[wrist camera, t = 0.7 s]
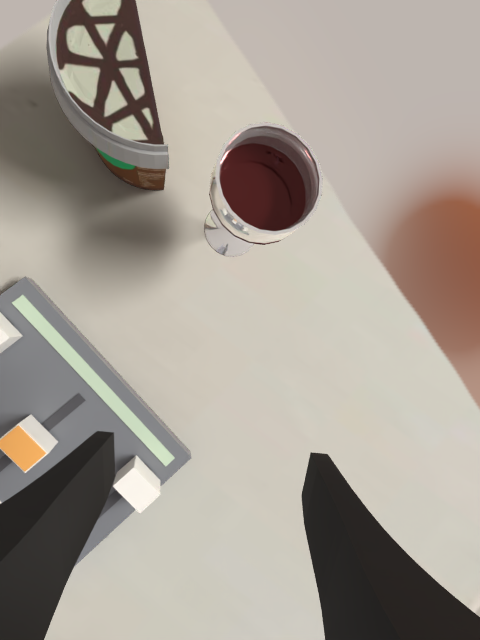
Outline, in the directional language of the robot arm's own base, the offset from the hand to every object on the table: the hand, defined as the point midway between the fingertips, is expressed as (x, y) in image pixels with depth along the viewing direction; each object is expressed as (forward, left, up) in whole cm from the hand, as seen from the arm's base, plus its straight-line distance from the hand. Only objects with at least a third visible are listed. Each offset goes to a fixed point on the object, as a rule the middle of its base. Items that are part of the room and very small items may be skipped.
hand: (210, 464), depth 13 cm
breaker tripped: (-11, +4, -17) cm, 21 cm away
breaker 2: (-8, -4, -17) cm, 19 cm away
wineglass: (+12, +7, -19) cm, 24 cm away
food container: (+9, +19, -19) cm, 29 cm away
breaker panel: (-11, +4, -19) cm, 23 cm away
